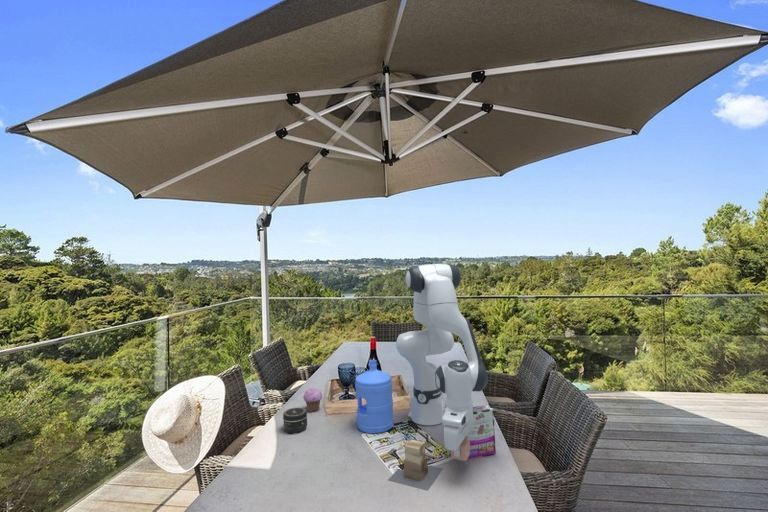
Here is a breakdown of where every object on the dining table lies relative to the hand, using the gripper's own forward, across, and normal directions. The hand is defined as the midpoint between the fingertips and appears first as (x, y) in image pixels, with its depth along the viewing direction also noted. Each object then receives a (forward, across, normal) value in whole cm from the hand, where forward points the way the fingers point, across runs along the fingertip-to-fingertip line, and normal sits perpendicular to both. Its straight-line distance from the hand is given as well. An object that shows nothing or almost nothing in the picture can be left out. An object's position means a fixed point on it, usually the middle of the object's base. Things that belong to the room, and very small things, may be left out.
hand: (460, 450), depth 140 cm
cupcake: (+9, -22, -79) cm, 83 cm away
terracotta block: (+2, 0, 0) cm, 2 cm away
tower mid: (+1, +10, -12) cm, 16 cm away
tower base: (+6, +10, -12) cm, 17 cm away
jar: (+8, -2, -73) cm, 74 cm away
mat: (+6, +10, -12) cm, 17 cm away
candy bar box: (+7, -12, +3) cm, 14 cm away
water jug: (+8, -18, -43) cm, 48 cm away
